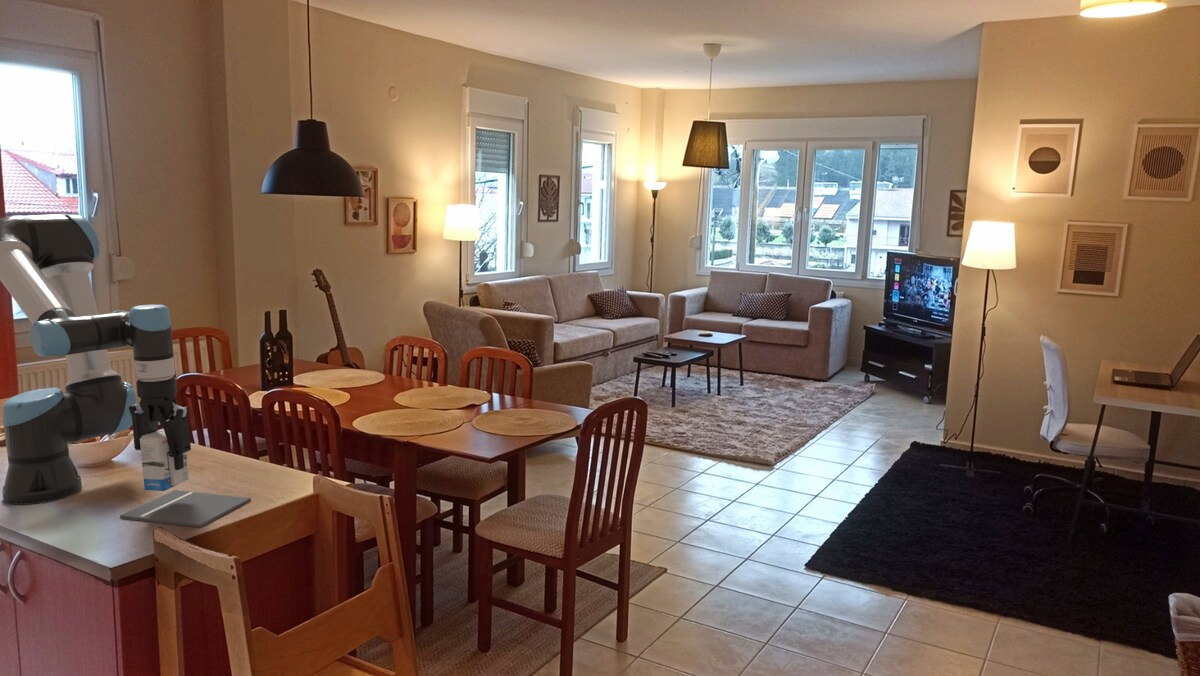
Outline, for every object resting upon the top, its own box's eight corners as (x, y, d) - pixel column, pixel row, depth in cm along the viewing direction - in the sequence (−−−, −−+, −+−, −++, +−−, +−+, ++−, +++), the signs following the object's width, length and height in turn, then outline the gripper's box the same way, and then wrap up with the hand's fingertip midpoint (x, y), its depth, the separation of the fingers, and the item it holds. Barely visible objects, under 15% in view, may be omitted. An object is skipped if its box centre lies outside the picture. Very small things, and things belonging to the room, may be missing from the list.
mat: (120, 518, 181) (119, 514, 180) (175, 492, 196) (175, 489, 196) (200, 527, 175) (200, 524, 175) (250, 500, 191) (250, 497, 191)
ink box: (163, 492, 182) (158, 438, 180) (143, 490, 183) (138, 437, 181) (190, 479, 190) (186, 427, 188) (170, 477, 191) (166, 426, 189)
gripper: (106, 379, 181) (117, 484, 185) (178, 383, 176) (188, 491, 180) (134, 372, 188) (144, 473, 192) (204, 376, 183) (213, 480, 187)
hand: (165, 482), depth 186 cm, fingers closed on ink box, 5 cm apart
